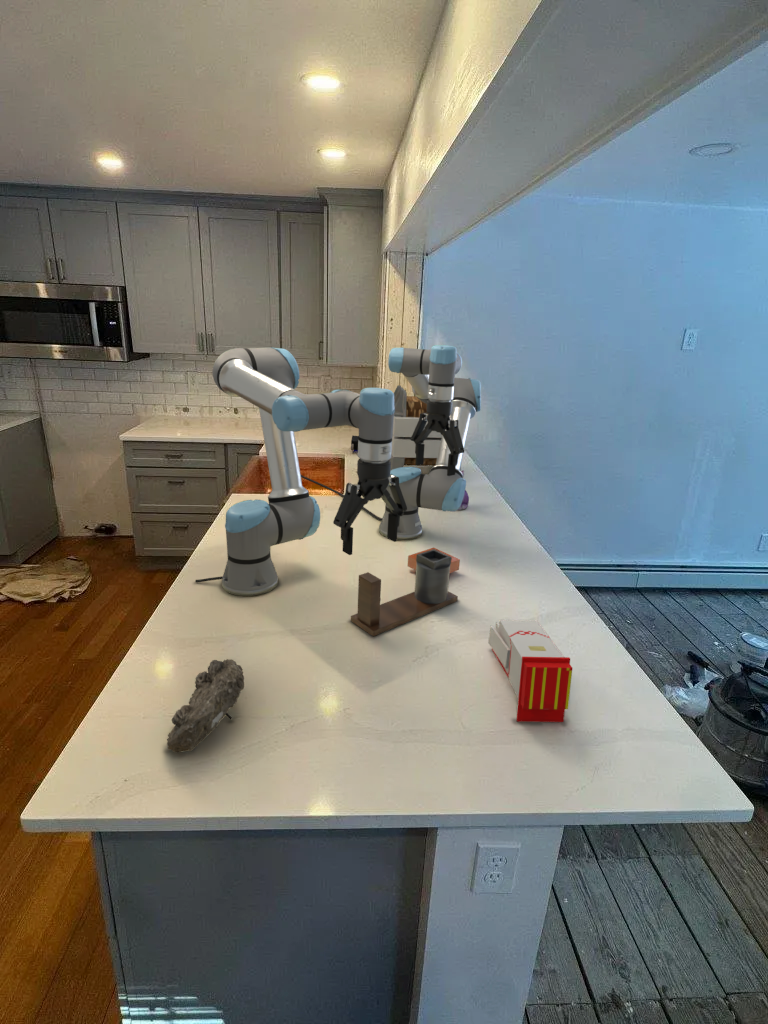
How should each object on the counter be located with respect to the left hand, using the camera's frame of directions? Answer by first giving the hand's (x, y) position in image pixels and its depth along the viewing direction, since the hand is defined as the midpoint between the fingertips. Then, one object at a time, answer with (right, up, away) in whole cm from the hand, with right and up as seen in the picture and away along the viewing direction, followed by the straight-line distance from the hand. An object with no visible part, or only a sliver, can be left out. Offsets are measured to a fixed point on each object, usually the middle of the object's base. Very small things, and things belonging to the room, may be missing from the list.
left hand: (370, 546), depth 134 cm
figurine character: (-12, +41, +177) cm, 182 cm away
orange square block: (+18, -10, +37) cm, 43 cm away
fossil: (-30, -31, -26) cm, 50 cm away
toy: (+33, -28, -11) cm, 45 cm away
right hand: (+19, +21, +40) cm, 49 cm away
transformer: (+20, +27, +141) cm, 145 cm away
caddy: (+9, -18, +15) cm, 25 cm away
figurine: (+33, +10, +96) cm, 102 cm away
